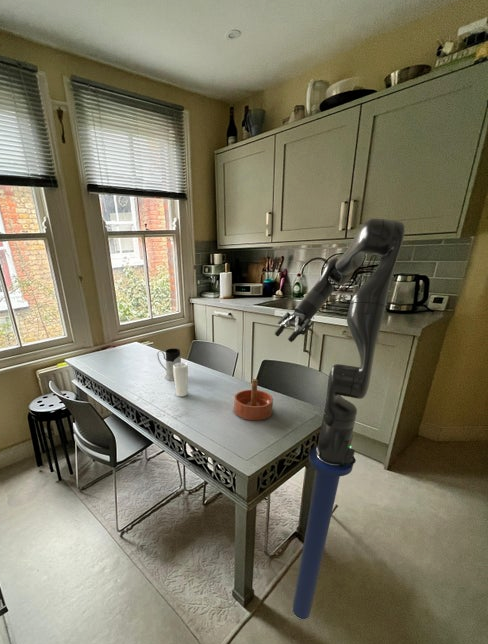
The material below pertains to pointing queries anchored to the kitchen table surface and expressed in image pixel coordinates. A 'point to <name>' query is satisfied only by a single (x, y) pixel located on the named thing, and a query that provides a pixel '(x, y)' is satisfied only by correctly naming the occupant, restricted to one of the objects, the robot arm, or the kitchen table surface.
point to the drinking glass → (180, 378)
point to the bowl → (253, 411)
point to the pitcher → (171, 361)
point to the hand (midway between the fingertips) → (282, 337)
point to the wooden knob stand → (253, 394)
